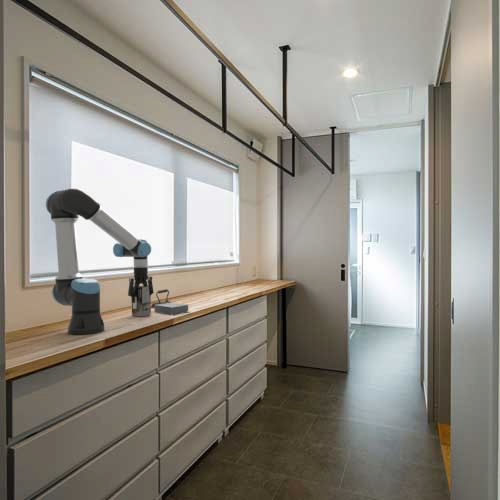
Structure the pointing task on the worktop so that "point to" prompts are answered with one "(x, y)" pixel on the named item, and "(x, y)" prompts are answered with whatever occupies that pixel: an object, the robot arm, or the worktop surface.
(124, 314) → the worktop surface
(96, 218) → the robot arm
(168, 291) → the clothes iron
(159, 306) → the plinth
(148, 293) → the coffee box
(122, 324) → the worktop surface
